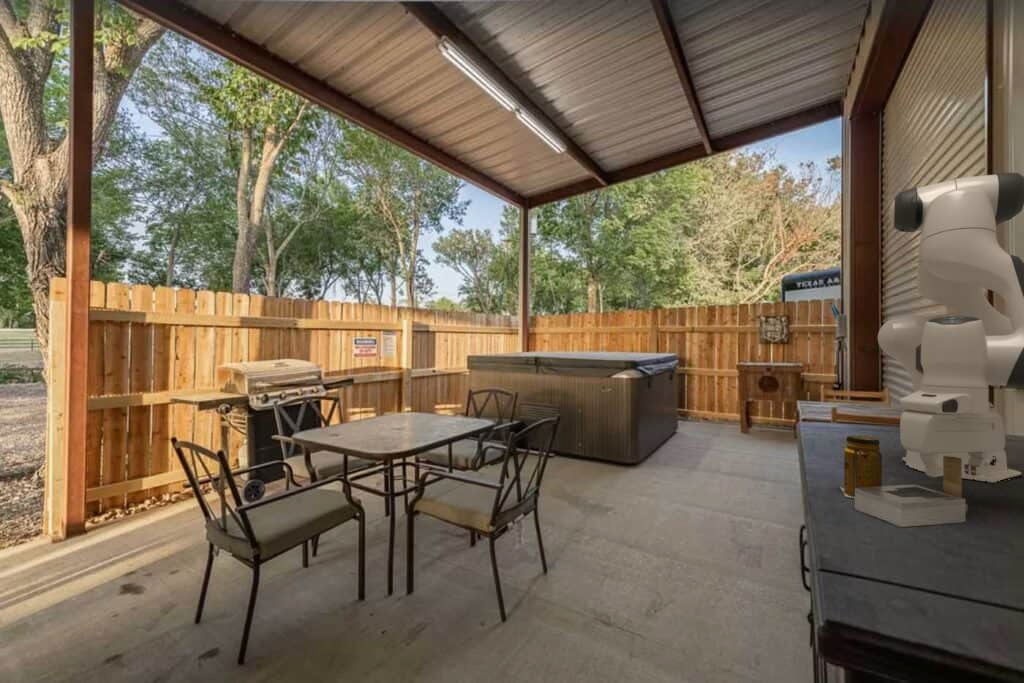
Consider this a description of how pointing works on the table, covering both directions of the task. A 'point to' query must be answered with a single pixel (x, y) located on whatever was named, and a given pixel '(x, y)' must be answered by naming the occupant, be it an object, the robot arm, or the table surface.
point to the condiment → (861, 464)
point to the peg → (953, 477)
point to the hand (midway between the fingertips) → (953, 475)
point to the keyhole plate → (910, 514)
